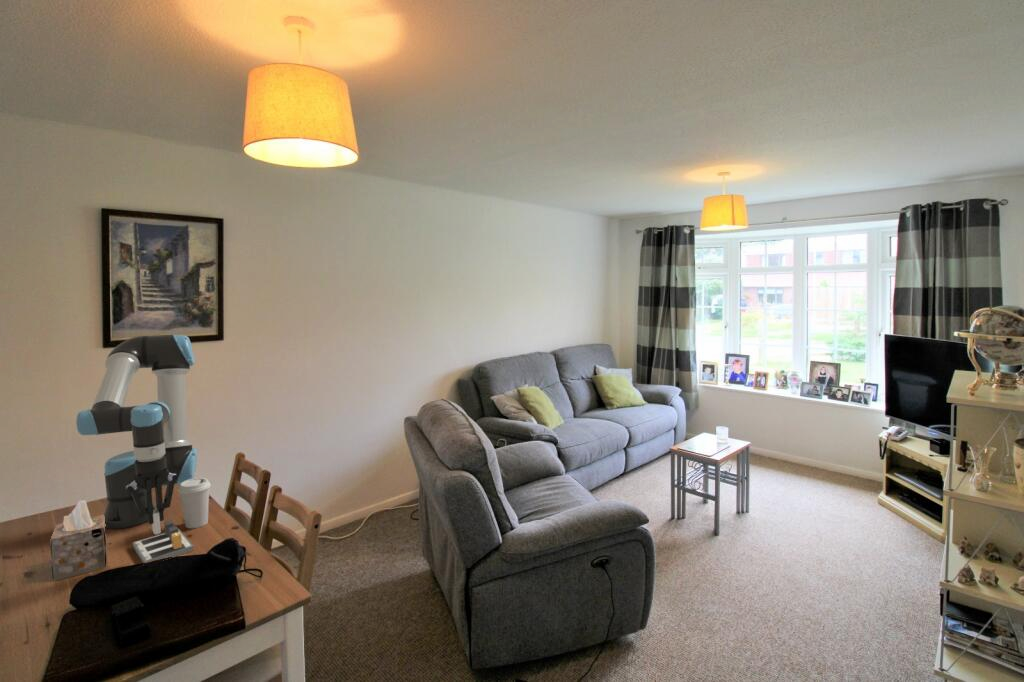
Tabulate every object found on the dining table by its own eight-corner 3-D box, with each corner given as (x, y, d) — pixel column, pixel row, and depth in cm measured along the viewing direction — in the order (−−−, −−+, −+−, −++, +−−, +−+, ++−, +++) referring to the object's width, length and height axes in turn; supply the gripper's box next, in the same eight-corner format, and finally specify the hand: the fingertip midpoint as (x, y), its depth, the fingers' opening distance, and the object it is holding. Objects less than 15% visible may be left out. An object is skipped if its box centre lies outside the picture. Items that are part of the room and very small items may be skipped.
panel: (132, 547, 160) (131, 529, 159) (179, 533, 169) (178, 516, 168) (144, 566, 149) (143, 547, 148) (193, 550, 158) (192, 532, 157)
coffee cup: (197, 532, 169) (194, 488, 168) (173, 529, 171) (170, 486, 170) (219, 519, 179) (217, 477, 177) (196, 516, 181) (193, 475, 179)
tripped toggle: (172, 546, 156) (171, 533, 156) (179, 544, 158) (178, 531, 157) (174, 549, 155) (173, 536, 154) (181, 547, 156) (181, 534, 156)
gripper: (125, 466, 143) (133, 545, 146) (179, 455, 153) (185, 528, 156) (120, 459, 148) (127, 535, 152) (172, 448, 158) (178, 520, 161)
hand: (156, 532), depth 154 cm, fingers closed
